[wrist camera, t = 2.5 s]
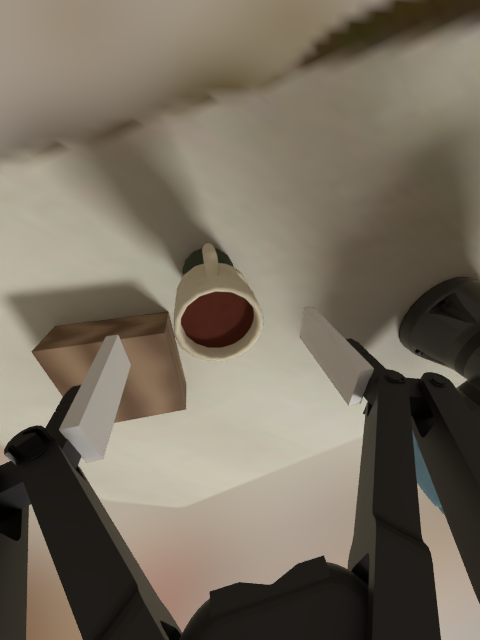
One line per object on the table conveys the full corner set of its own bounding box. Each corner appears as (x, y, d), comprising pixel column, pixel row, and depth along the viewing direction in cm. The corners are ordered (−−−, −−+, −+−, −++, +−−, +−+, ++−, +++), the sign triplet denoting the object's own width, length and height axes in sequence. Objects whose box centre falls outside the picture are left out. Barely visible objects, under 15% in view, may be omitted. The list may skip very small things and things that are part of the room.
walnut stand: (168, 311, 30) (165, 333, 26) (186, 384, 38) (185, 409, 34) (54, 326, 28) (31, 351, 24) (97, 399, 36) (85, 428, 32)
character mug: (238, 305, 32) (263, 370, 21) (187, 312, 31) (186, 384, 20) (233, 222, 26) (265, 253, 15) (170, 227, 25) (155, 264, 14)
